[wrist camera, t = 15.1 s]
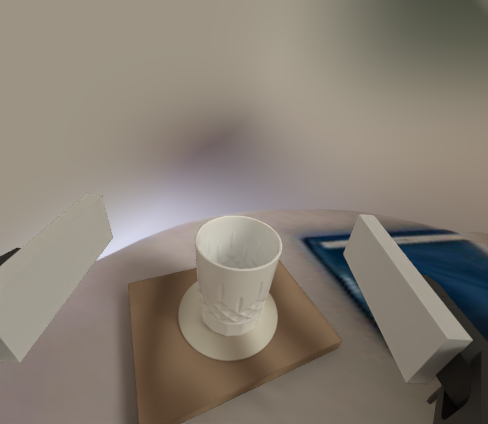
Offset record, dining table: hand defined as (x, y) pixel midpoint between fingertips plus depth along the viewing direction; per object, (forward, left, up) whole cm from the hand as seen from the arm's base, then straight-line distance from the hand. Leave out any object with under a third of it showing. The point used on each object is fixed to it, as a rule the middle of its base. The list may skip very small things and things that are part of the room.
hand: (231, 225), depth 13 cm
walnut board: (-4, -6, -18) cm, 19 cm away
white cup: (-4, -6, -17) cm, 18 cm away
